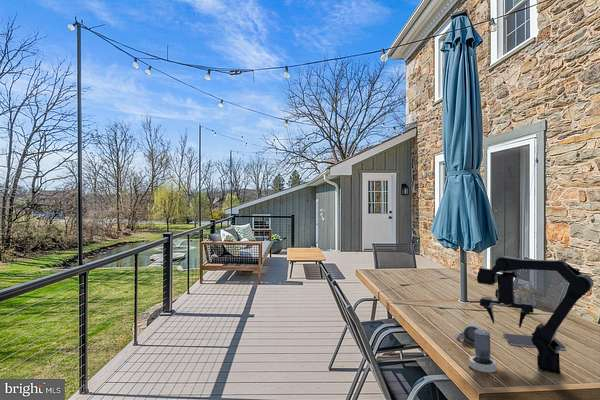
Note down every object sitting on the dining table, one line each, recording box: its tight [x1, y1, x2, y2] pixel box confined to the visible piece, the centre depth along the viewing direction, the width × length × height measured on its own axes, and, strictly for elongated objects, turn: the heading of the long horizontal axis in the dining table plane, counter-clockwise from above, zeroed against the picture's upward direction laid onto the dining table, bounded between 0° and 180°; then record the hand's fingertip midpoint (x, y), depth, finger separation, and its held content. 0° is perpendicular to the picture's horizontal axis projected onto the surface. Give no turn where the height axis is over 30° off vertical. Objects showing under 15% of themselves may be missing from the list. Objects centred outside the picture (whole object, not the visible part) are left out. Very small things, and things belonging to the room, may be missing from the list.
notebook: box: [503, 333, 567, 351], centre depth 160 cm, size 13×2×21 cm
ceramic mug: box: [456, 322, 482, 345], centre depth 164 cm, size 11×8×8 cm
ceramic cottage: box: [514, 281, 537, 307], centre depth 229 cm, size 16×16×15 cm
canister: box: [474, 329, 492, 365], centre depth 136 cm, size 5×5×13 cm
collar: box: [468, 355, 497, 374], centre depth 136 cm, size 9×9×2 cm
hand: (506, 325), depth 144 cm, fingers open, 9 cm apart
